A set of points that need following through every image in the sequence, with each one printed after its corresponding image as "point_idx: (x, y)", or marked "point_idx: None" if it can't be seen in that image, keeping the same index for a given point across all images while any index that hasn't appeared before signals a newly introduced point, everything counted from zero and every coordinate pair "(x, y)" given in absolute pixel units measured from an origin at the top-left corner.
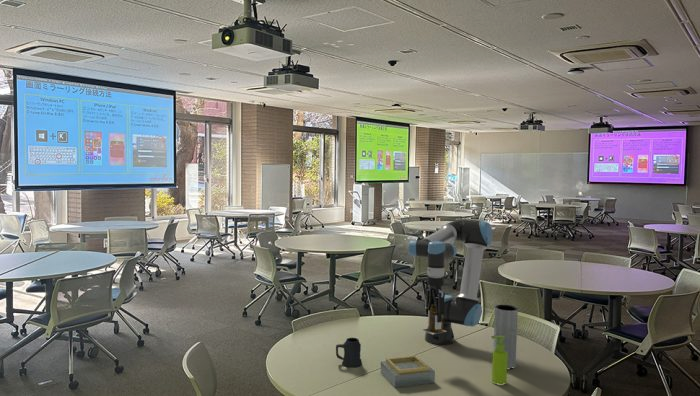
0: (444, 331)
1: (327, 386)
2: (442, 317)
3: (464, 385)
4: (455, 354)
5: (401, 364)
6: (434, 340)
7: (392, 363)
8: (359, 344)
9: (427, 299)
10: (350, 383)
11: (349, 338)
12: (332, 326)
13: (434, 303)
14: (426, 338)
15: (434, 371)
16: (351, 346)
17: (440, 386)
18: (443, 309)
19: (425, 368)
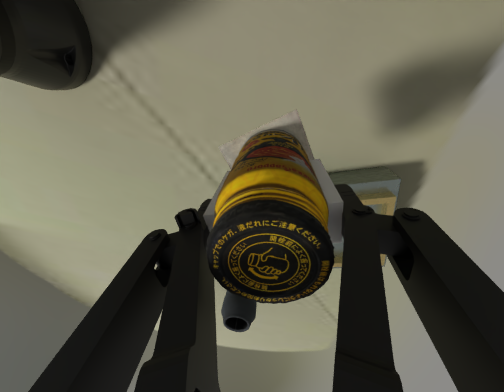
0: (294, 123)
1: (329, 319)
2: (308, 168)
3: (440, 85)
4: (179, 14)
5: None
6: (81, 67)
7: (335, 264)
8: (245, 308)
9: (153, 328)
10: (328, 296)
11: (226, 325)
12: (53, 267)
13: (212, 269)
14: (64, 89)
15: (400, 179)
16: (253, 319)
17: (411, 159)
18: (452, 254)
19: (393, 206)
